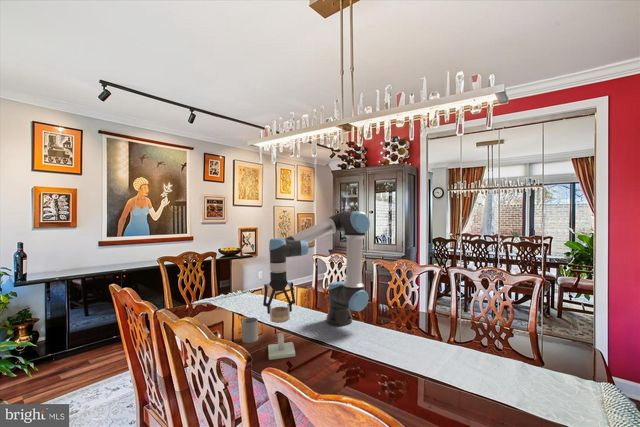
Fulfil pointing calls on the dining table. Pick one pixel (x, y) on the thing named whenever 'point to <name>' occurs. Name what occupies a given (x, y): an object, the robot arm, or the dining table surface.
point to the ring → (279, 314)
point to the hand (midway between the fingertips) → (279, 319)
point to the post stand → (281, 349)
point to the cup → (249, 330)
